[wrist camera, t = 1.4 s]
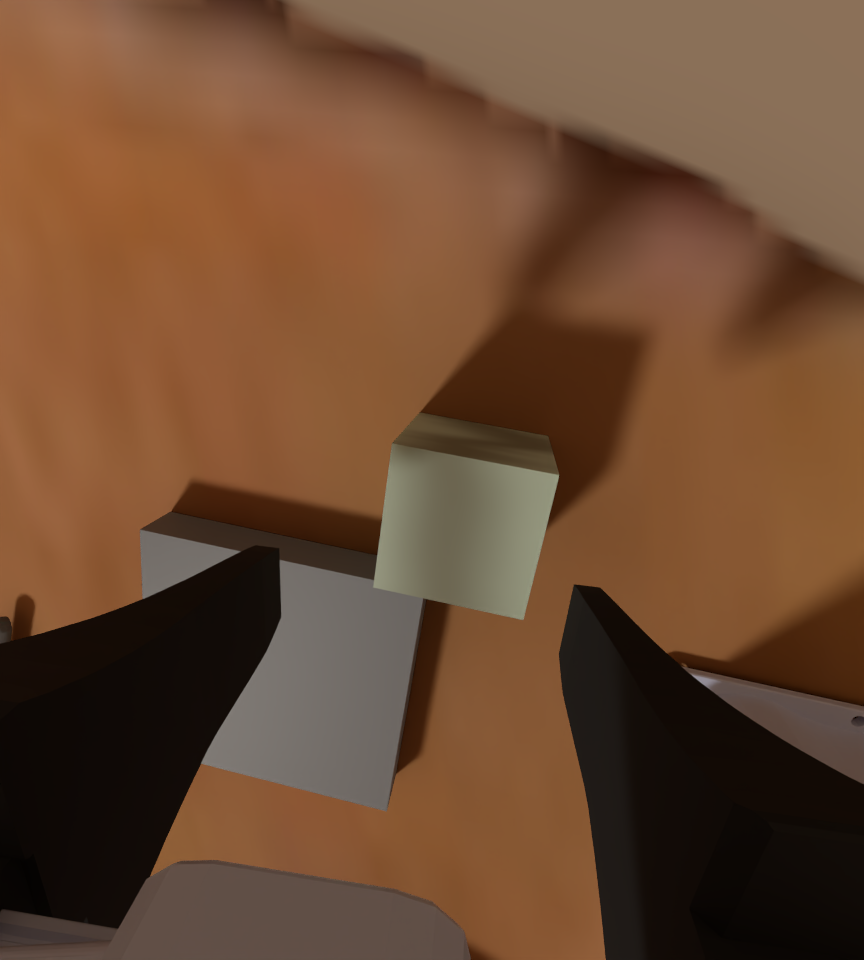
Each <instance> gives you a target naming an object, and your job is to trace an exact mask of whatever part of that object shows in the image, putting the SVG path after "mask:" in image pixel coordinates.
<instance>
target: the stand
mask: <svg viewBox="0 0 864 960" xmlns="http://www.w3.org/2000/svg"><path fill="white" fill-rule="evenodd" d="M140 543H141V568H142V592H143V599H144V598H147V597H149V596H151V595H153V594H155V593H158V592H160V591H162V590H164V589H166V588H168V587H171V586H173V585H175V584H177V583H179V582H181V581H184V580H186V579H188V578H190V577H192V576H194V575H196V574H198V573H200V572H202V571H204V570H206V569H208V568H210V567H211V566H213V565H215V564H217V563H219V562H221V561H223V560H225V559H227V558H229V557H231V556H233V555H235V554H237V553H239V552H241V551H243V550H245V549H247V548H250V547H252V546H255V545H258V546H266V547H275V548H279V553H280V586H281V619H280V622H279V624H278V627H277V629H276V631H275V634H274V636H273V638H272V641H271V643H270V645H269V647H268V649H267V652H266V653H265V655H264V657H263V659H262V660H261V662H260V664H259V665H258V667H257V669H256V670H255V672H254V674H253V675H252V677H251V679H250V680H249V682H248V683H247V685H246V687H245V688H244V690H243V692H242V693H241V695H240V696H239V698H238V700H237V701H236V703H235V704H234V706H233V708H232V709H231V711H230V713H229V714H228V716H227V717H226V719H225V721H224V722H223V724H222V726H221V727H220V729H219V730H218V732H217V734H216V736H215V738H214V739H213V741H212V743H211V745H210V747H209V748H208V750H207V752H206V754H205V756H204V758H203V761H202V763H201V764H205V765H209V766H213V767H217V768H220V769H224V770H228V771H232V772H236V773H240V774H244V775H248V776H252V777H255V778H259V779H263V780H267V781H271V782H275V783H279V784H283V785H287V786H290V787H294V788H298V789H302V790H306V791H310V792H314V793H318V794H321V795H325V796H329V797H333V798H337V799H341V800H345V801H349V802H353V803H356V804H360V805H364V806H368V807H372V808H376V809H380V810H384V811H387V808H388V804H389V800H390V796H391V792H392V788H393V784H394V780H395V776H396V771H397V765H398V759H399V753H400V748H401V742H402V736H403V730H404V725H405V719H406V713H407V707H408V702H409V696H410V690H411V685H412V679H413V673H414V667H415V662H416V656H417V650H418V644H419V639H420V633H421V627H422V621H423V616H424V610H425V604H426V599H424V598H419V597H415V596H410V595H406V594H401V593H396V592H392V591H387V590H382V589H378V588H373V585H374V577H375V570H376V562H377V555H372V554H368V553H363V552H358V551H354V550H349V549H344V548H339V547H335V546H330V545H325V544H320V543H316V542H311V541H306V540H302V539H297V538H292V537H287V536H283V535H278V534H273V533H269V532H264V531H259V530H254V529H250V528H245V527H240V526H235V525H231V524H226V523H221V522H217V521H212V520H207V519H202V518H198V517H193V516H188V515H184V514H179V513H174V512H169V513H167V514H166V515H164V516H162V517H161V518H159V519H157V520H155V521H154V522H152V523H150V524H149V525H147V526H145V527H144V528H142V529H140Z"/></svg>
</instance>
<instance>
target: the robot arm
mask: <svg viewBox="0 0 864 960" xmlns="http://www.w3.org/2000/svg"><path fill="white" fill-rule="evenodd" d="M280 619H281V586H280V553H279V548H275V547H266V546H258V545H255V546H252V547H250V548H247V549H245V550H243V551H241V552H239V553H237V554H235V555H233V556H231V557H229V558H227V559H225V560H223V561H221V562H219V563H217V564H215V565H213V566H211V567H210V568H208V569H206V570H204V571H202V572H200V573H198V574H196V575H194V576H192V577H190V578H188V579H186V580H184V581H181V582H179V583H177V584H175V585H173V586H171V587H168V588H166V589H164V590H162V591H160V592H158V593H155V594H153V595H151V596H149V597H147V598H144V599H142V600H139V601H137V602H135V603H132V604H130V605H127V606H124V607H122V608H119V609H116V610H114V611H111V612H108V613H105V614H103V615H100V616H97V617H94V618H91V619H88V620H85V621H81V622H78V623H75V624H71V625H68V626H65V627H61V628H58V629H55V630H51V631H48V632H45V633H41V634H37V635H34V636H30V637H26V638H22V639H18V640H14V641H10V642H5V643H1V644H0V960H471V957H470V953H469V949H468V945H467V941H466V937H465V933H464V931H463V930H462V928H461V927H460V926H459V925H458V924H457V923H456V922H455V921H454V920H453V919H452V918H450V917H449V916H448V915H447V914H446V913H445V912H444V911H442V910H441V909H440V908H439V907H438V906H437V905H435V904H434V903H433V902H432V901H429V900H426V899H423V898H420V897H417V896H414V895H411V894H408V893H405V892H402V891H399V890H396V889H391V888H385V887H379V886H373V885H367V884H360V883H354V882H348V881H342V880H336V879H329V878H323V877H317V876H311V875H305V874H298V873H292V872H286V871H280V870H274V869H268V868H261V867H255V866H249V865H243V864H237V863H230V862H224V861H218V860H202V861H180V862H177V863H174V864H172V865H170V866H168V867H166V868H165V869H163V870H161V871H160V872H158V873H156V874H154V875H153V876H151V877H150V875H151V872H152V870H153V868H154V865H155V863H156V861H157V858H158V856H159V854H160V851H161V849H162V847H163V844H164V842H165V840H166V837H167V835H168V833H169V831H170V829H171V827H172V824H173V822H174V820H175V818H176V816H177V813H178V811H179V809H180V807H181V805H182V802H183V800H184V798H185V796H186V794H187V792H188V789H189V787H190V785H191V783H192V781H193V779H194V777H195V775H196V773H197V771H198V769H199V767H200V765H201V763H202V761H203V758H204V756H205V754H206V752H207V750H208V748H209V747H210V745H211V743H212V741H213V739H214V738H215V736H216V734H217V732H218V730H219V729H220V727H221V726H222V724H223V722H224V721H225V719H226V717H227V716H228V714H229V713H230V711H231V709H232V708H233V706H234V704H235V703H236V701H237V700H238V698H239V696H240V695H241V693H242V692H243V690H244V688H245V687H246V685H247V683H248V682H249V680H250V679H251V677H252V675H253V674H254V672H255V670H256V669H257V667H258V665H259V664H260V662H261V660H262V659H263V657H264V655H265V653H266V652H267V649H268V647H269V645H270V643H271V641H272V638H273V636H274V634H275V631H276V629H277V627H278V624H279V622H280ZM559 660H560V671H561V681H562V690H563V696H564V701H565V705H566V709H567V714H568V718H569V723H570V727H571V731H572V735H573V740H574V744H575V748H576V752H577V756H578V761H579V765H580V769H581V773H582V778H583V782H584V787H585V792H586V797H587V802H588V808H589V816H590V823H591V831H592V838H593V846H594V854H595V862H596V871H597V879H598V888H599V897H600V905H601V915H602V925H603V935H604V945H605V955H606V960H864V706H859V705H855V704H850V703H846V702H841V701H836V700H832V699H827V698H823V697H818V696H814V695H809V694H805V693H800V692H795V691H791V690H786V689H782V688H777V687H773V686H768V685H764V684H759V683H755V682H750V681H745V680H741V679H736V678H732V677H727V676H723V675H718V674H714V673H709V672H704V671H700V670H695V669H691V668H686V667H682V666H680V665H679V664H678V663H677V662H676V661H675V660H674V659H672V658H671V657H670V656H669V655H668V654H667V653H666V652H665V651H664V650H662V649H661V648H660V647H659V646H658V645H657V644H656V643H655V642H654V641H653V640H652V639H651V638H650V637H649V636H648V635H647V634H646V633H645V632H644V631H643V630H642V629H641V628H640V627H639V626H638V625H637V624H636V623H635V622H634V621H633V620H632V619H631V618H630V617H629V616H628V615H627V614H626V613H625V612H624V611H623V610H622V609H621V608H620V607H619V606H618V605H617V604H616V603H615V602H614V601H613V600H612V599H611V598H610V597H609V596H608V595H607V594H606V593H605V592H604V591H603V590H602V589H601V588H599V587H591V586H583V585H574V587H573V592H572V596H571V601H570V605H569V610H568V615H567V619H566V624H565V628H564V633H563V638H562V642H561V647H560V651H559ZM857 716H858V717H857ZM854 717H857V718H856V719H853V718H854Z"/></svg>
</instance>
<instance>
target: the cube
mask: <svg viewBox="0 0 864 960" xmlns="http://www.w3.org/2000/svg"><path fill="white" fill-rule="evenodd" d="M558 479H559V472H558V468H557V465H556V461H555V458H554V455H553V451H552V448H551V444H550V441H549V437H548V436H546V435H540V434H535V433H529V432H524V431H519V430H513V429H508V428H502V427H497V426H491V425H486V424H480V423H475V422H470V421H464V420H459V419H453V418H448V417H442V416H437V415H431V414H426V413H419V414H418V415H417V416H416V417H415V418H414V419H413V421H412V422H411V423H410V424H409V425H408V426H407V427H406V428H405V430H404V431H403V432H402V433H401V434H400V435H399V436H398V437H397V438H396V440H395V441H394V442H393V443H392V448H391V456H390V463H389V471H388V478H387V486H386V494H385V501H384V509H383V517H382V524H381V532H380V539H379V547H378V555H377V562H376V570H375V577H374V585H373V588H378V589H382V590H387V591H392V592H396V593H401V594H406V595H410V596H415V597H419V598H424V599H429V600H433V601H438V602H443V603H447V604H452V605H456V606H461V607H466V608H470V609H475V610H480V611H484V612H489V613H493V614H498V615H503V616H507V617H512V618H517V619H521V620H523V619H524V615H525V611H526V607H527V603H528V599H529V595H530V591H531V587H532V583H533V579H534V575H535V571H536V567H537V563H538V559H539V555H540V551H541V547H542V543H543V539H544V535H545V531H546V527H547V523H548V519H549V515H550V511H551V507H552V503H553V499H554V495H555V491H556V487H557V483H558Z"/></svg>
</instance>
